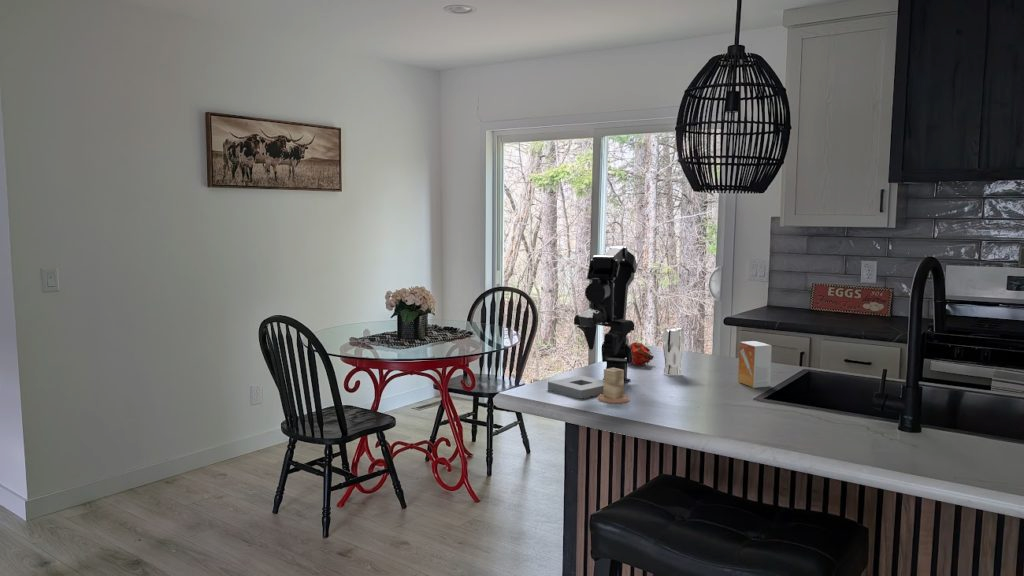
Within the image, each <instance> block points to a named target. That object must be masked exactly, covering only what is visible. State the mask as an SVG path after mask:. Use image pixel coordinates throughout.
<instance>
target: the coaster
mask: <svg viewBox="0 0 1024 576" xmlns="http://www.w3.org/2000/svg"><path fill="white" fill-rule="evenodd" d="M597 400H598V401H599V400H600V401H599V402H602V401H603V402H602V403H607V404H625V403H628V402H629V401H630V396H628V395H626V394H623V398H619V399H615V400H613V399H609V398H605V397H603V394H601V395H597Z"/></svg>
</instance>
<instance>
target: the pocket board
mask: <svg viewBox="0 0 1024 576" xmlns="http://www.w3.org/2000/svg"><path fill="white" fill-rule="evenodd" d="M603 389H604V380H603V379H599V378H594V377H589V376H585V375H576V376H570V377H564V378H561V379H553V380H550V381H549V380H548V382H547V390H548V391H551V392H555V393H558V394H561V395H565V396H567V397H572V398H576V399H579V398H581V399H580V400H583V399H582V398H584V399H587V398H586V397H588V398H591V397H590V396H593V397H596V396H595V395H597V396H599V395H600V394H603Z"/></svg>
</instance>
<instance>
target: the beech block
mask: <svg viewBox="0 0 1024 576" xmlns="http://www.w3.org/2000/svg"><path fill="white" fill-rule="evenodd" d="M603 378H604V380H603V381H604V389H603V397H605V398H609V399H613V400H615V399H619V398H623V395H624V389H625V388H624V383H625V382H624V370H622V369H618V368H608V369H606V368H603Z"/></svg>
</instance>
